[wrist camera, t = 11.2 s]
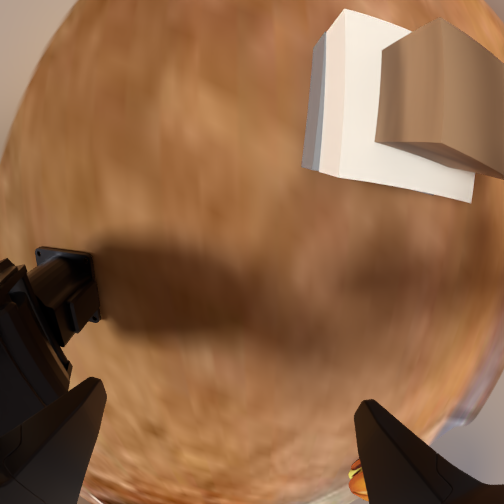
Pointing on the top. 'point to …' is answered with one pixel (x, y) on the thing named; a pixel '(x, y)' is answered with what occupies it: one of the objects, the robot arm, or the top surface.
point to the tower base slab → (316, 108)
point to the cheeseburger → (357, 481)
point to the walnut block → (443, 99)
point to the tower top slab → (371, 115)
